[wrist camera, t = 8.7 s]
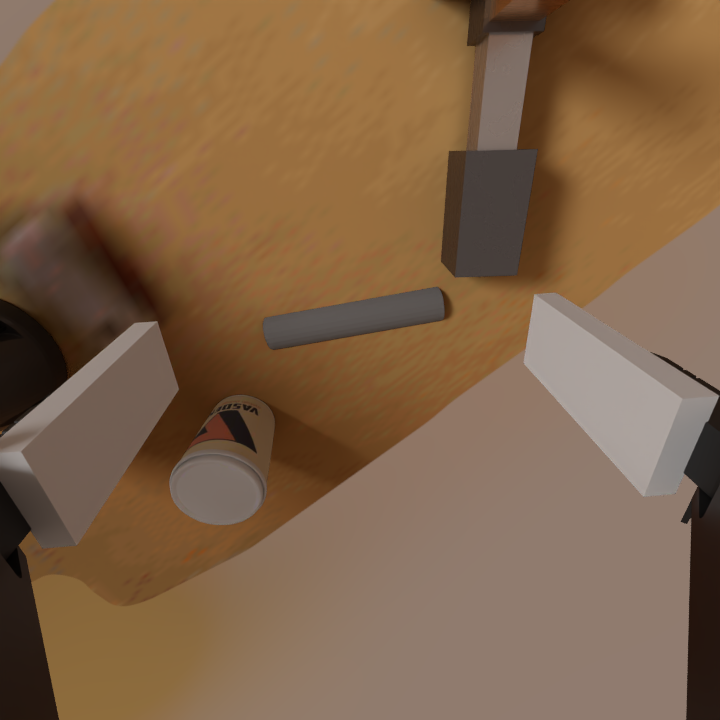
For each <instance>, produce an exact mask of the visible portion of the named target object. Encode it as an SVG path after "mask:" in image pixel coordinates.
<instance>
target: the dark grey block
mask: <svg viewBox="0 0 720 720" xmlns="http://www.w3.org/2000/svg"><path fill="white" fill-rule="evenodd" d="M537 151H538V149H517V150H485V151H449V158H448V172H447V186H446V200H445V213H444V227H443V241H442V255H441V262H442V263H443V264H444V265H445V267H446V268H447V269H448V270H449V271H450V272H451V273H452V275H453V276H454V277H480V276H511V275H517V272H518V266H519V260H520V254H521V248H522V242H523V236H524V230H525V224H526V218H527V211H528V205H529V199H530V193H531V187H532V181H533V175H534V169H535V163H536V157H537Z"/></svg>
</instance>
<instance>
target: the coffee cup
mask: <svg viewBox="0 0 720 720" xmlns="http://www.w3.org/2000/svg"><path fill="white" fill-rule="evenodd" d="M274 430H275V419H274V415H273V413H272V411H271V409H270V408H269V407H268V406H267V405H266V404H265V403H264V402H263V401H261V400H259V399H257V398H255V397H252V396H248V395H234V396H230V397H227V398H225V399H223V400H222V401H220V402H219V403H218V404H217V405H216V407H215V408H214V409H213V411H212V412H211V414H210V415H209V417H208V418H207V420H206V421H205V423H204V424H203V426H202V427H201V429H200V430H199V432H198V433H197V435H196V437H195V438H194V440H193V441H192V443H191V444H190V446H189V447H188V449H187V451H186V452H185V454H184V455H183V457H182V459H181V460H180V461H179V462H178V463H177V464H176V466H175V467H174V469H173V471H172V473H171V476H170V492H171V496H172V499H173V500H174V502H175V504H176V505H177V506H178V508H179V509H180V510H181V511H183V512H184V513H185V514H187V515H188V516H190V517H191V518H193V519H196V520H198V521H201V522H204V523H208V524H214V525H229V524H235V523H238V522H242V521H244V520H246V519H248V518H249V517H251V516H252V515H253V514H254V513H255V512H256V511H257V510H258V509H259V508H260V507H261V506H262V504H263V502H264V500H265V497H266V492H267V479H268V472H269V466H270V459H271V452H272V445H273V438H274Z"/></svg>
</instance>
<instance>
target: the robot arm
mask: <svg viewBox="0 0 720 720" xmlns="http://www.w3.org/2000/svg"><path fill="white" fill-rule="evenodd" d="M524 364H525V365H526V366H527V368H528V369H529V370H530V371H531V372H532V373H533V374H534V375H535V376H536V378H537V379H538V380H539V381H540V382H541V383H542V384H543V385H544V386H545V387H546V388H547V390H548V391H549V392H550V393H551V394H552V395H553V396H554V397H555V399H556V400H557V401H558V402H559V403H560V404H561V405H562V406H563V408H564V409H565V410H566V411H567V412H568V413H569V414H570V415H571V416H572V418H573V419H574V420H575V421H576V422H577V423H578V424H579V425H580V426H581V428H582V429H583V430H584V431H585V432H586V433H587V434H588V435H589V436H590V438H591V439H592V440H593V441H594V442H595V443H596V444H597V445H598V447H599V448H600V449H601V450H602V451H603V452H604V453H605V454H606V455H607V457H608V458H609V459H610V460H611V461H612V462H613V463H614V464H615V465H616V467H617V468H618V469H619V470H620V471H621V472H622V473H623V474H624V475H625V477H626V478H627V479H628V480H629V481H630V482H631V483H632V484H633V485H634V487H635V488H636V489H637V490H638V491H639V492H640V493H641V494H642V495H643V496H644V497H647V496H658V495H670V494H676V492H677V489H678V487H679V485H680V483H681V480H682V478H683V476H684V474H685V475H687V476H688V477H689V478H690V479H691V480H692V481H693V482H694V483H695V484H696V485H697V486H698V487H697V489H696V491H695V493H694V495H693V497H692V499H691V502H690V504H689V506H688V508H687V510H686V512H685V514H684V516H683V518H682V520H681V522H683V523H686V524H687V523H688V521H689V519H690V518H691V557H690V596H689V636H688V675H687V679H688V680H687V716H686V718H687V719H686V720H720V391H719V390H717V389H716V388H714V387H713V386H711V385H710V384H708V383H706V382H705V381H703V380H701V379H700V378H696V376H695V375H693V374H692V373H690V372H688V371H687V370H683V368H682V367H680V366H679V365H677V364H675V363H674V362H672V361H671V360H669V359H668V358H665V357H662V356H660V355H657V354H654V353H652V352H649V351H648V350H646V349H644V348H643V347H641V346H640V345H638V344H636V343H635V342H633V341H632V340H630V339H629V338H627V337H625V336H624V335H622V334H621V333H619V332H617V331H616V330H614V329H613V328H611V327H609V326H608V325H606V324H604V323H603V322H602V321H600V320H598V319H597V318H595V317H594V316H592V315H591V314H589V313H587V312H586V311H584V310H583V309H581V308H579V307H578V306H576V305H575V304H573V303H572V302H570V301H568V300H567V299H565V298H564V297H562V296H560V295H559V294H557V293H545V294H535V295H534V301H533V307H532V313H531V320H530V326H529V332H528V338H527V344H526V351H525V357H524ZM66 380H67V371H66V365H65V362H64V358H63V356H62V354H61V351H60V350H59V348H58V346H57V344H56V343H55V341H54V340H53V339H52V337H51V336H50V335H49V334H48V332H47V331H46V330H45V329H44V328H43V327H42V326H41V325H40V324H39V323H37V322H36V321H35V320H34V319H33V318H31V317H30V316H29V315H27V314H26V313H24V312H23V311H21V310H20V309H18V308H16V307H14V306H13V305H11V304H9V303H7V302H4V301H2V300H0V431H2V434H0V720H59V718H58V712H57V707H56V702H55V697H54V693H53V688H52V683H51V678H50V673H49V668H48V663H47V658H46V653H45V648H44V644H43V638H42V633H41V628H40V623H39V619H38V614H37V609H36V604H35V599H34V594H33V589H32V584H31V579H30V574H29V569H28V564H27V559H26V556H25V554H24V553H23V552H22V550H21V549H20V547H19V546H18V545H19V544H20V543H21V542H22V540H23V539H24V538H25V537H26V535H27V534H28V533H29V532H30V530H31V532H32V534H33V535H34V537H35V538H36V540H37V541H38V543H39V544H40V546H41V547H42V548H53V547H65V546H76V545H77V544H78V543H79V541H80V540H81V538H82V537H83V535H84V534H85V532H86V531H87V529H88V528H89V526H90V525H91V523H92V521H93V520H94V518H95V517H96V515H97V514H98V512H99V511H100V509H101V508H102V506H103V505H104V503H105V502H106V500H107V499H108V497H109V496H110V494H111V492H112V491H113V489H114V488H115V486H116V485H117V483H118V482H119V480H120V479H121V477H122V476H123V474H124V473H125V471H126V470H127V468H128V467H129V465H130V463H131V462H132V460H133V459H134V457H135V456H136V454H137V453H138V451H139V450H140V448H141V447H142V445H143V444H144V442H145V441H146V439H147V438H148V436H149V435H150V433H151V431H152V430H153V428H154V427H155V425H156V424H157V422H158V421H159V419H160V418H161V416H162V415H163V413H164V412H165V410H166V409H167V407H168V406H169V404H170V402H171V401H172V399H173V398H174V396H175V395H176V393H177V392H178V390H179V388H178V384H177V381H176V378H175V375H174V372H173V369H172V366H171V363H170V359H169V356H168V353H167V350H166V347H165V344H164V341H163V338H162V334H161V331H160V328H159V325H158V322H157V321H155V322H141V323H134V324H133V325H132V326H131V327H129V328H128V329H127V330H126V331H125V332H124V333H122V334H121V335H120V336H119V337H118V338H116V339H115V340H114V341H113V342H112V343H111V344H109V345H108V346H107V347H106V348H105V349H104V350H102V351H101V352H100V353H99V354H98V355H97V356H95V357H94V358H93V359H92V360H91V361H90V362H88V363H87V364H86V365H85V366H84V367H83V368H81V369H80V370H79V371H78V372H77V373H75V374H74V375H73V376H72V377H71V378H70V379H68V380H67V381H66Z"/></svg>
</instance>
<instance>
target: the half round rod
mask: <svg viewBox="0 0 720 720" xmlns="http://www.w3.org/2000/svg"><path fill="white" fill-rule="evenodd" d="M443 319H444V301H443V296H442V293H441V291H440V289H439V288H438V287H433V288H428V289H422V290H417V291H411V292H406V293H400V294H394V295H389V296H383V297H378V298H372V299H367V300H361V301H356V302H350V303H344V304H339V305H333V306H328V307H322V308H317V309H311V310H306V311H300V312H294V313H289V314H283V315H278V316H272V317H267V318H265V319H264V322H263V331H264V336H265V339H266V342H267V344H268V346H269V348H270V349H273V350H275V349H281V348H287V347H293V346H298V345H304V344H310V343H315V342H321V341H327V340H333V339H338V338H344V337H350V336H355V335H361V334H367V333H373V332H378V331H384V330H390V329H395V328H401V327H407V326H413V325H418V324H424V323H430V322H436V321H441V320H443Z"/></svg>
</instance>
